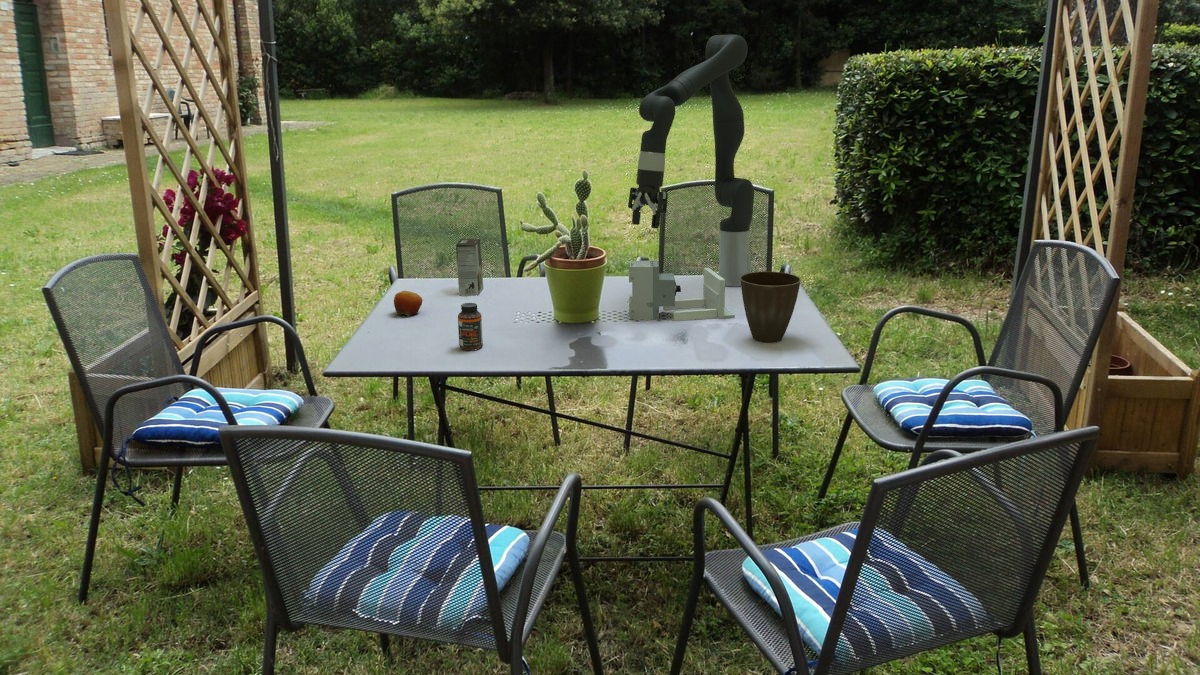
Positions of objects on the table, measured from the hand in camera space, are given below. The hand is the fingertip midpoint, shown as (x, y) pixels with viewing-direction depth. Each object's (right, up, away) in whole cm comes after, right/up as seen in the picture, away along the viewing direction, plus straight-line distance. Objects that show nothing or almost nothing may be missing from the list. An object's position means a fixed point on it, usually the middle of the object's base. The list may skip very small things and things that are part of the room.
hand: (645, 226), depth 263 cm
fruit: (-68, -25, +2) cm, 72 cm away
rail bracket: (+15, -25, -2) cm, 29 cm away
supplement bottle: (-46, -34, -29) cm, 64 cm away
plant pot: (+30, -32, -27) cm, 52 cm away
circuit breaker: (+2, -26, -4) cm, 26 cm away
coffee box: (-53, -18, +25) cm, 61 cm away
